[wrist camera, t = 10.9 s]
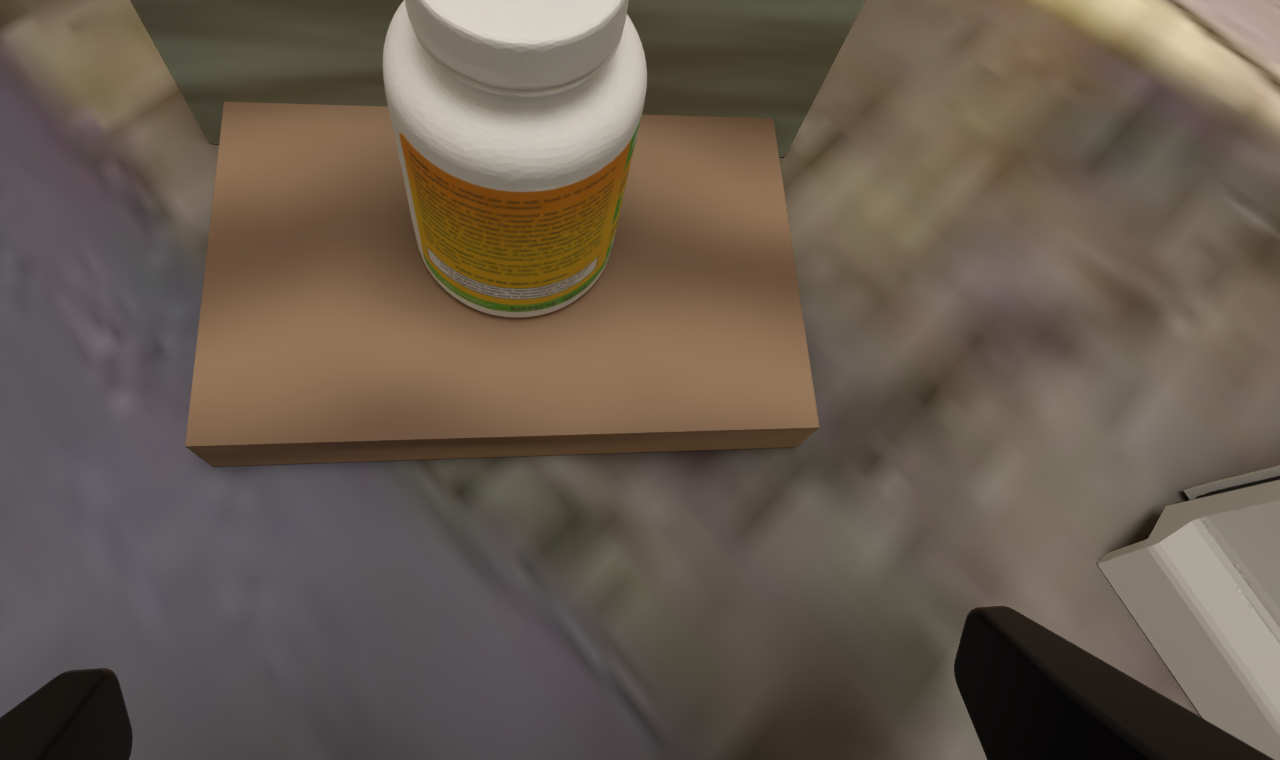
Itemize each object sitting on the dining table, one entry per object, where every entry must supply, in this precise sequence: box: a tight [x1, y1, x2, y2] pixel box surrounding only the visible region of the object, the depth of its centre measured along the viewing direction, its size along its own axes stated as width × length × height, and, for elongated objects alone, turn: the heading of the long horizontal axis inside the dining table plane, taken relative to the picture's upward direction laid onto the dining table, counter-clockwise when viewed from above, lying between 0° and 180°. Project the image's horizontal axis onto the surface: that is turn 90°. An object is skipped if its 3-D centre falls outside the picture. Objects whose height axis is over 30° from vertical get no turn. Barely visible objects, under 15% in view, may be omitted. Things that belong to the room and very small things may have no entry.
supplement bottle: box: [383, 0, 647, 318], centre depth 19 cm, size 5×5×10 cm
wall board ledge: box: [130, 0, 865, 467], centre depth 22 cm, size 12×18×8 cm, turn 94°
